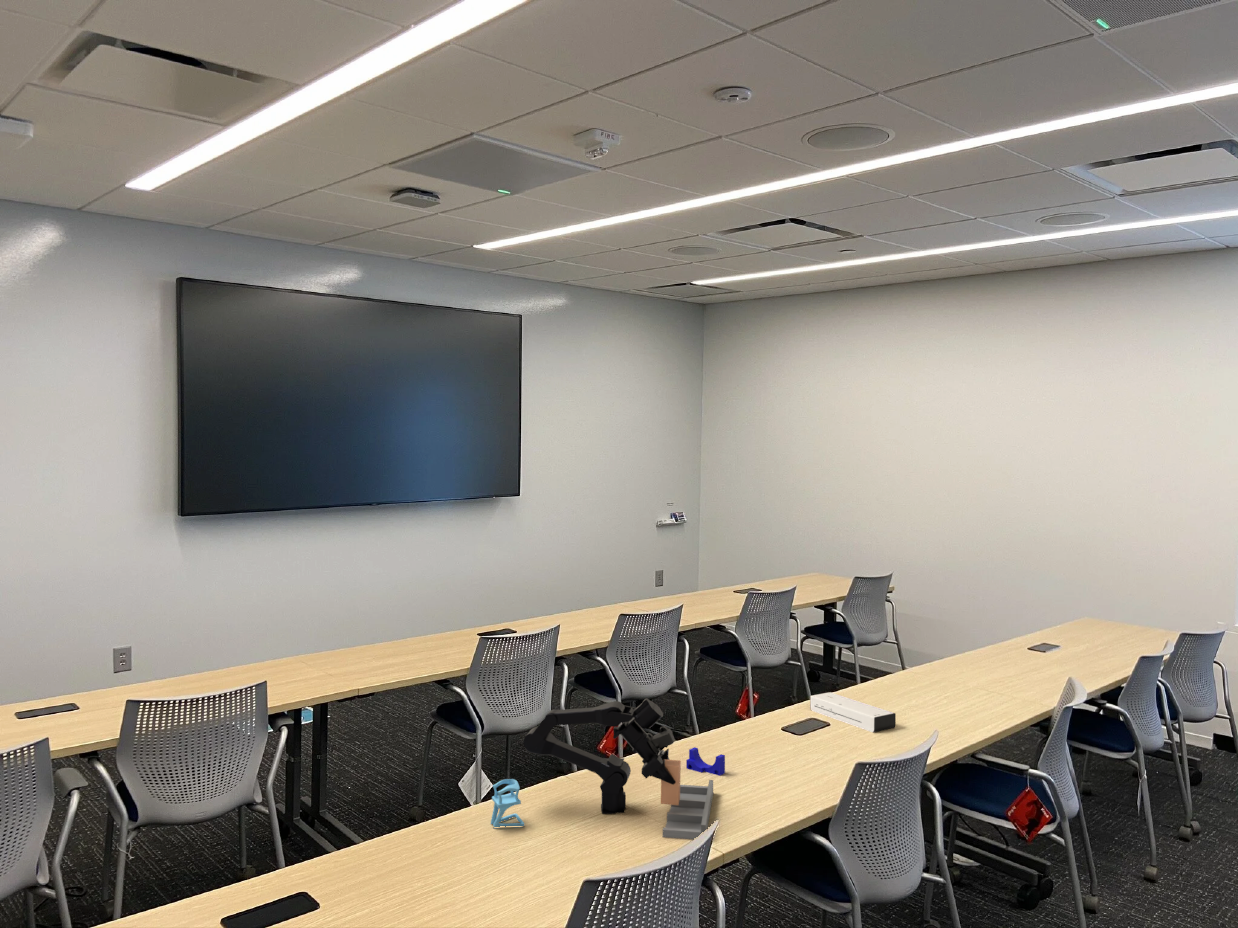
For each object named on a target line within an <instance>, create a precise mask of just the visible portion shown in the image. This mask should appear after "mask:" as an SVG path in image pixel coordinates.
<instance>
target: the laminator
mask: <svg viewBox="0 0 1238 928" xmlns="http://www.w3.org/2000/svg"><path fill="white" fill-rule="evenodd" d="M809 703H810V705H809V707H810V711H812V712H813V713H816V714H820V715H823V716H826V717H827V718H828V717H829V718H831V719H834V720H836V721H840V722H843V723H844V724H845V723H846V724H848V725H851V726H854V727H857V728H858V729H863V731H867V732H870V733H877V732H882V731H887V730H890V729H895V727H896V725H897V724H896V722H897V721H896V716H897V715H896V712H892V711H890V710H886V709H884V708H880V707H877V706H874V705H871V704H868V703H864V702H862V701H859V700H855V699H852V698H850V697H846V696H843V695H841V694H837V693H834V692H831V691H830V692H823V693H818V694H814V695H813V694H812V695H810V696H809Z"/></svg>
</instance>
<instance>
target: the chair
mask: <svg viewBox="0 0 1238 928" xmlns="http://www.w3.org/2000/svg"><path fill="white" fill-rule="evenodd" d="M504 784H506V786H505V787H503V788H502V789H500V790H498V791H497V788H499V786H501V785H504ZM492 788H493V790H494V791H493V792H494V795H493V796H491V800H492V801H493V804H494V805H493V810H492V815H491V819H490V825H491V824H493V825H492V827H493V826H494V827H500V826H505V827H506V826H524V827H525V822H524V821H523V819H522V818H521V817H520V816H519V815H518V813H511V814H508V815H506V816H504V814H505V812H506V811H507V810H508V809H509V808H511V807H514V806H517V805H521V804H522V800H521V799H520V798H519V792H520V789H521V788H520V784H519V782H518V781H517V780H516V779H514V778H509V779H508V778H505V779H502V780H500V781H498V782H496V783H495V784H493V785H492ZM507 792H509V793H507ZM504 793H506V794H504ZM512 817H516V818H517V819H516V818H515V819H516V820H517V822H513V823H511V822H509V823H508V822H507V823H505V821H504V820H506V821H508V819H509V818H512ZM512 819H513V818H512ZM509 820H510V819H509ZM501 821H504V823H503V822H501ZM499 822H501V823H499ZM519 822H520V823H519Z"/></svg>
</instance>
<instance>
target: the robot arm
mask: <svg viewBox="0 0 1238 928" xmlns="http://www.w3.org/2000/svg"><path fill="white" fill-rule="evenodd" d="M663 716H664V712H663V710H662V709H661V708H660V706H659V705H658V704H657V703H654V702H653V701H652V700H650V699H649V698H647V697H646V698H644V700H643V701H642V703H640V704H639V705H637V707H634V706H629V705H624V704H623V703H622V702H621V701H618V700H616V701H610V702H607V703H606V702H605V703H602V704H601V705H598V706H594V707H581V708H570V709H569V708H568V709H567V708H566V709H556V708H555V709H551V710H550V711H548V712H547V714H546V715H545V717H544V719H543V720H542V721H541V723H540V724H539V725H538V726H535V727H532V729H530V730H529V732H528V733H527V734H526V735H525V736H524V738H523V742H522V743H523V746H524V749H525V750H526V752H528V753H530V754H531V753H532V754H535V755H538V756H539V755H541V756H552V757H555V758H557V759H559V760H563V761H565V762H567V763H570V764H573V765H575V766H578V767H579V768H582V769H585V770H587V771H589V772H592V773H594V774H596V775H598V777H600V779H602V782H601V783H600V786H599V788H600V791H601V804H600V809H601V814H602V815H610V814H611V815H614V814H625V810H626V808H627V807H626V806H627V805H626V803H627V802H626V801H627V800H626V798H627V797H626V791H625V789H624V786H625V785H626V784H627V782H628V780H629V778H630V776H631V771H632V770H631V766H630V764H629V763H628V762H627V761H626V760H625V758H621V757H618V756H616V755H614V754H613V753H610V755H609V757H608V758H606V757H600V756H598V755H595V754H593V753H590V752H588V751H587V750H584V749H581V748H578V747H575V746H574V745H571V744H568V743H566V742H564V741H561V740H559V739H558V738H556V736H554V735H553V734H552V733H551V731H552V730H553V729H554V727H556V726H565V725H566V726H567V725H568V726H569V725H581V724H582V725H583V724H584V725H586V724H598V725H601V726H605V727H613V729H612V730H613V737H612V738H613V740H615V739H616V738H617V737H619V736H621V737H622V739H624V740H625V741H626V743H627V744H628V745H629V746H630V747H631V748H632V752H633V753H634V754H638V755H639V757H640V758H641V759H642V761H641V763H643V765H642V767H641V775H642V776H643V778H645V779H648V778H649V777H652V778H655V779H659V780H660V781H661V780H663V781H665V782H668V783H670V784H673V785H674V784H675V783H676V781H675V780H674V778H673V777H672V775H671V774H670V772H669V771H668V769H667V768H666V766H665V759H666V760H671V759H670V758H669V753H670V752H669V750H670V749H669V748H668V747H669V746H671V745H673V744H674V743H675V740H676V739H675V737H674V734H673V730H671V728H668V726H666V725H663V726H660V728H659V732H657V733H656V734H655V735H653V733H651V732H648V733H647V732H646V731H645V730H646V729H648V730H649V729H651V727H653V726H654V725H655V724H656V723H657V722H658V721H659V720H660V719H662V717H663ZM665 748H666V750H664V749H665ZM663 759H664V760H663Z"/></svg>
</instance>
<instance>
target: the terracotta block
mask: <svg viewBox="0 0 1238 928" xmlns="http://www.w3.org/2000/svg"><path fill="white" fill-rule="evenodd" d="M663 760H664V759H663ZM681 762H682V761H681V760H678V759H670V760H666V759H665V766H666V768H667V769H668V771H669V772H670V774H671V775H672V777H673V778H674V780H675V781H676V783H675V784H674V785H673V784H670V783H668V782H665V781H663V780H661V779H660V805H670V806H671V805H679V801H680V785H681V766H682V763H681Z"/></svg>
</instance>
